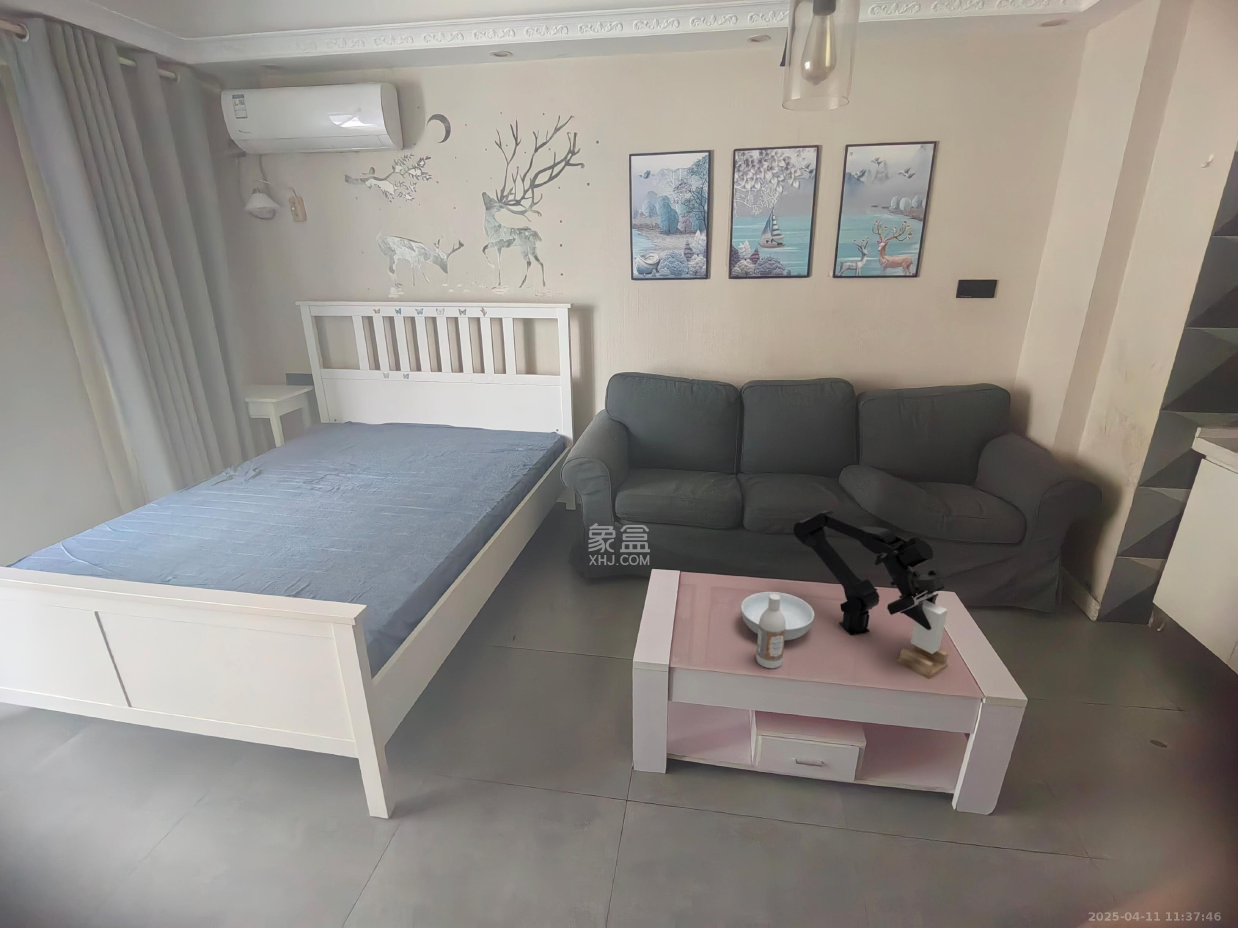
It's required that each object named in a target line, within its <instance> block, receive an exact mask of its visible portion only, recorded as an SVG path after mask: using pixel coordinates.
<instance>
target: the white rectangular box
mask: <svg viewBox="0 0 1238 928" xmlns="http://www.w3.org/2000/svg"><path fill="white" fill-rule="evenodd" d="M922 602H923V606H922V610H923V612H924V614H925V616H926V618H927V620H928V622H929V624H930V626H931V630H927V629H925V628H924V627H923V626H921V625H920V624H919V623H917V622H916V621H914V620H913V621H914V623H913V628H912V633H911V638H910V644H911V645H914V646H917V647H919V648H921V649H923V650H925V651H927V652H929V653H931V654H933V653H935V652H936V651H938V650H939V649H941V645H942V640H943V634H944V629H945V624H946V620H947V614H948V609H947V608H945V607H943V606H939V604H936V603H935V604H934V603H931V602H929V601H927V600H924V601H922ZM922 602H920V603H922Z"/></svg>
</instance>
